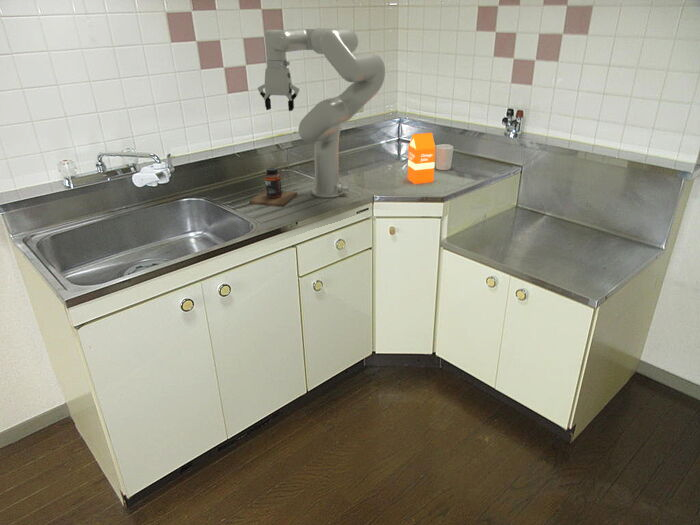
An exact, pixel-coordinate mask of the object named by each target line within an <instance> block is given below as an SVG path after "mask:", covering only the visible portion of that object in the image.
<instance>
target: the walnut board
mask: <svg viewBox="0 0 700 525" xmlns="http://www.w3.org/2000/svg"><path fill="white" fill-rule="evenodd" d="M297 196H298V191H287V190H286V191H285V190H282V196H281V197H279V198H274V199H273V198H268V197H267V194H266V188H265V189H264V190H263V191H261V192H260V193H258V194H257V195H256V196H254V197H253V198H252V199H250V200H249V204H253V205H262V206H273V207H280V208H281V207H282V208H283V207H285V206H286V205H288V204H289V203H290V202H291V201H292V200H293V199H294V198H296V197H297Z"/></svg>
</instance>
